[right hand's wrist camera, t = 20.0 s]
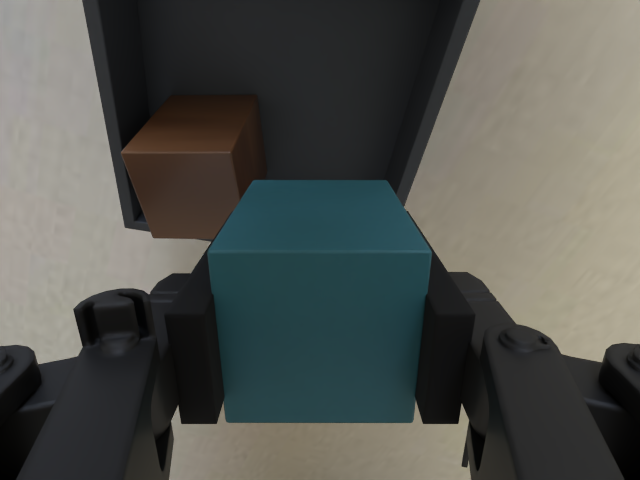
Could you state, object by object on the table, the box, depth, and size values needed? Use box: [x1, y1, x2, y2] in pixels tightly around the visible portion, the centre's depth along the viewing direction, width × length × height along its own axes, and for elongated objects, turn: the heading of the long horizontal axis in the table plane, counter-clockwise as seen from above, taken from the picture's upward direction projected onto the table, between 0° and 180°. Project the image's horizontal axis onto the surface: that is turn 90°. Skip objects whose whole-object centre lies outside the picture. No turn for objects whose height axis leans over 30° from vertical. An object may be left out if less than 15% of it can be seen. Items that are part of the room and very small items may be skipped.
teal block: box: [207, 180, 432, 423], centre depth 12 cm, size 4×4×6 cm
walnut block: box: [121, 95, 267, 239], centre depth 20 cm, size 4×4×6 cm
